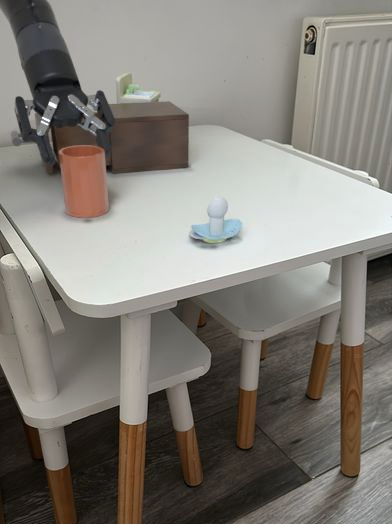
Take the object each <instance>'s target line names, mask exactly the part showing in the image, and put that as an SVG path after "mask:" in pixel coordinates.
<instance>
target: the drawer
mask: <svg viewBox="0 0 392 524" xmlns="http://www.w3.org/2000/svg"><path fill="white" fill-rule="evenodd" d="M93 112H94V114H95V116H96V117H97V118H98V119H100V117H99V115H98V112H97V111H93ZM83 118H84V119H85V120H86V118H85V116H84V115H83ZM34 119H35V120H34V121H35V126H36V127H35V129H38V126H39V124H40V122H41V119H42V117H41V116H40V115H39V114H37V113H36V112H35V113H34ZM49 134H50V135H49ZM107 135H108V138H109V141H110V133H107ZM47 136H48V139H49V140H50V136H51V145H52V151H53V154H54V158H55V161H56V163H57V165H58V168H59V170H61V166H60V158H59V150H61V149H62V148H66V147H69V146H76V145H91V146H97V147H98V145H97V142H96V136H95V135H94V134H92V133H91V132H90V131H88V130H87V131H86V130H84V129H83V128H82V127H81V126H79V125H78V124H77V126H74V127H70V126H65V127H62V128H57V127H55V126H53V125H52V126H51V128H50V133H48V135H47ZM10 138H11V143H12V144H13V146H15V147H19V146H21V144H30V143H31V144H32V143H34V144H35V142H33V141H29V142H24V141H23V140H22V137H21V133H20V132H18V131H16V130H12V131H10ZM39 156H40V159H41V161H42V164H43V167H44V170H45V173H46V174H49V173H54V165H52V166H48V163H47V162H44V161H43V160H42V157H41V154H40V153H39ZM105 162H106V166H108V165H112V161H111V152H110V154H109V156H108V158H107V159H105Z"/></svg>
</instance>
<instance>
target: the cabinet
mask: <svg viewBox="0 0 392 524" xmlns="http://www.w3.org/2000/svg"><path fill="white" fill-rule="evenodd" d="M108 104H109V106H110V109H111V111H112V114H113V116H114V118H115V121H116V122H115V125H114V127H113V130H112V133H110V144H111V161H112V165H107V167H108V168H109V170H110V171H111V173H112V174H124V173H125V174H126V173H137V172H138V173H139V172H151V171H162V170H163V171H164V170H173V169H174V170H176V169H186V168H187V169H189V152H190V151H189V149H190V148H189V146H190V145H189V139H190V138H189V137H190V136H189V134H190V131H189V130H190V128H189V127H190V115H189V113H188V112H186V111H184V110H183V109H181V108H180V107H179V106H177V105H176V104H174V103H173V102H171V101H170V100H168V101H159V102H143V103H121V104H117V103H108Z"/></svg>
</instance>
